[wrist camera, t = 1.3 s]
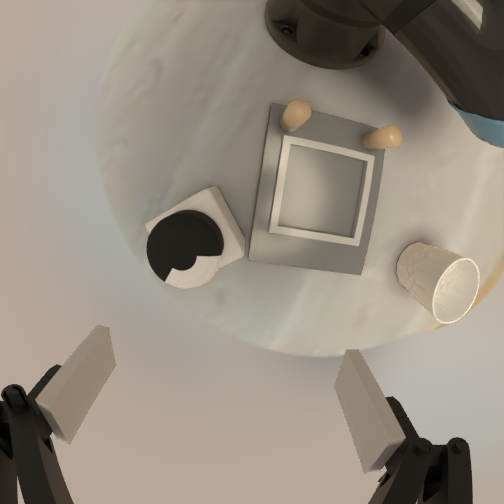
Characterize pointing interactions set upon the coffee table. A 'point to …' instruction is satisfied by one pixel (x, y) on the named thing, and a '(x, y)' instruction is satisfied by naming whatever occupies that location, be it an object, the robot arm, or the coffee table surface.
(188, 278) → the medicine bottle
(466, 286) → the white cup
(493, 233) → the coffee table surface
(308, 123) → the peg board
